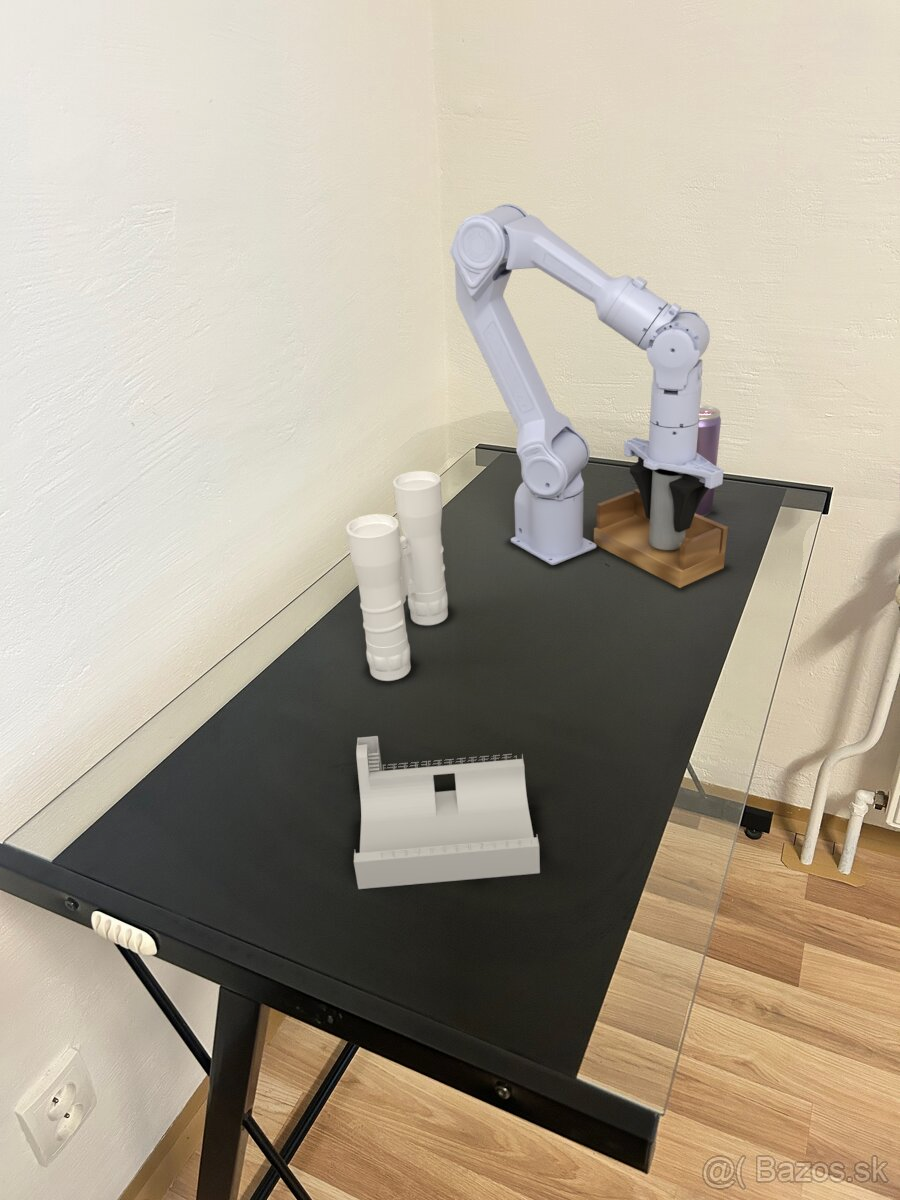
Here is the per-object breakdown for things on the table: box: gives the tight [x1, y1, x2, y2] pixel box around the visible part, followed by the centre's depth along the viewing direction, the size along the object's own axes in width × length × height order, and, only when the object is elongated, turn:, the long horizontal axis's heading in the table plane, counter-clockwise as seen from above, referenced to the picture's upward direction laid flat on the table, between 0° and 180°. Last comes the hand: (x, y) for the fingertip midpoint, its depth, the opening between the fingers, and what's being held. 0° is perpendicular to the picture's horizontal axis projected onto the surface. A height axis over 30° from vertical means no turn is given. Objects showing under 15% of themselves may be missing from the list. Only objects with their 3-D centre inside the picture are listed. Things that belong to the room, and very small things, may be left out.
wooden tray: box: [593, 488, 729, 589], centre depth 116 cm, size 16×8×6 cm, turn 34°
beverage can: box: [695, 404, 722, 517], centre depth 125 cm, size 6×6×15 cm
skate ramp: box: [353, 735, 541, 890], centre depth 77 cm, size 15×13×5 cm
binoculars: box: [345, 470, 449, 682], centre depth 99 cm, size 17×5×18 cm, turn 159°
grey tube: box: [649, 469, 686, 550], centre depth 111 cm, size 4×4×10 cm
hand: (667, 522), depth 112 cm, fingers closed on grey tube, 4 cm apart
